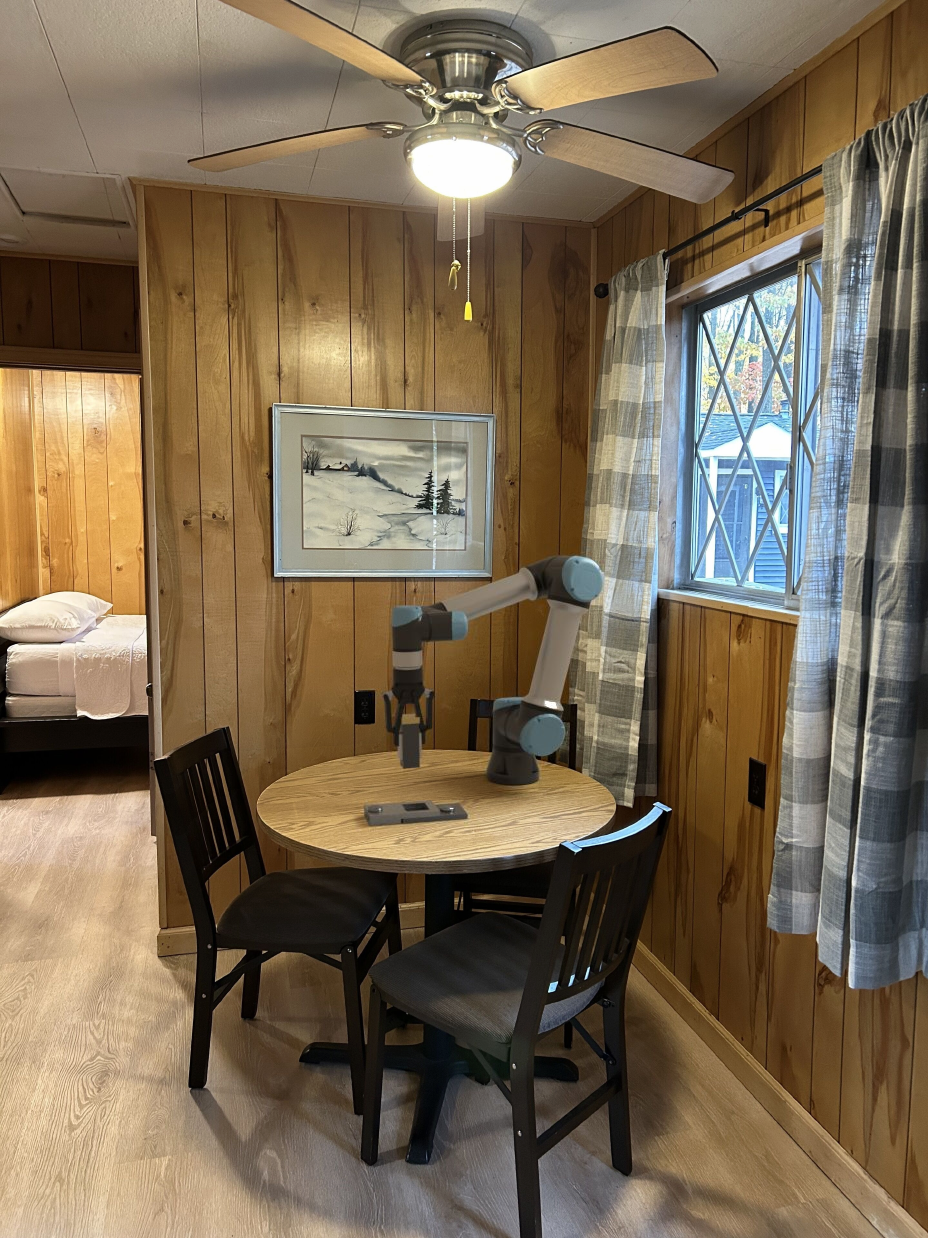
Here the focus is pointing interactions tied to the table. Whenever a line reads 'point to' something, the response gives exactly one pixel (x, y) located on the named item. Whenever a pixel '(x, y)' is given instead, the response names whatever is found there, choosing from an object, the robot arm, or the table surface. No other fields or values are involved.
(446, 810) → the plate
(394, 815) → the plate
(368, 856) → the table surface
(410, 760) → the link pin
